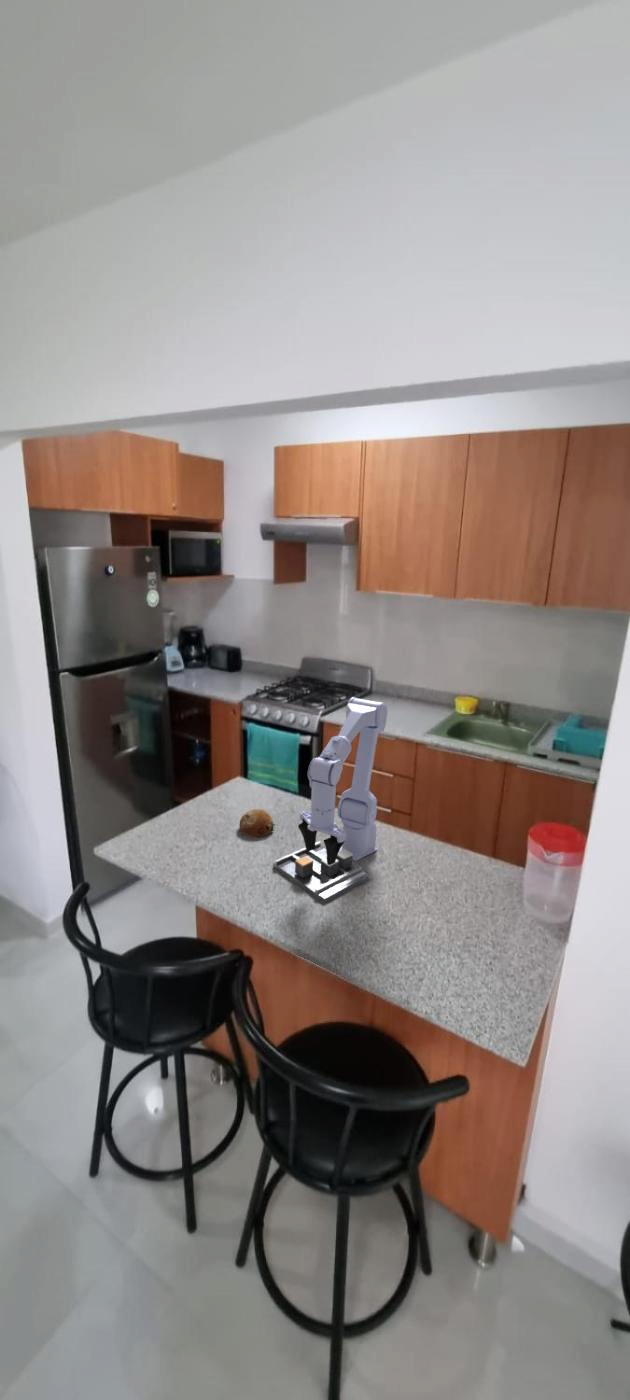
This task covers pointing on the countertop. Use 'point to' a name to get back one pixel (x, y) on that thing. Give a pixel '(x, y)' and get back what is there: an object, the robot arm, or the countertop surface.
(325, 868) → the block
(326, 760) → the robot arm
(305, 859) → the block
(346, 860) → the block
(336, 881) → the panel
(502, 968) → the countertop surface
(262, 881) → the countertop surface
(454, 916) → the countertop surface
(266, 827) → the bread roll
